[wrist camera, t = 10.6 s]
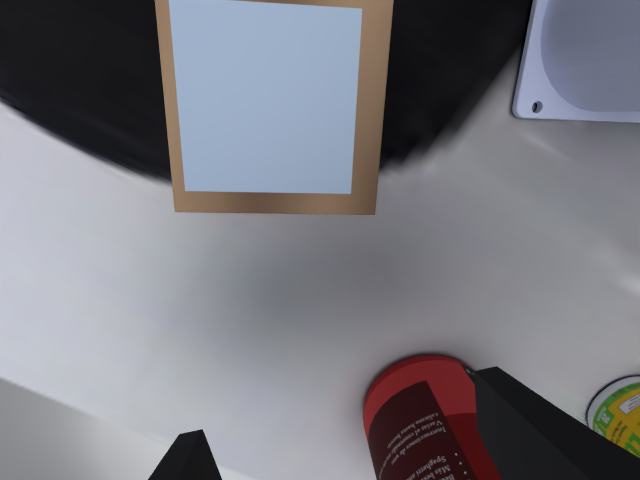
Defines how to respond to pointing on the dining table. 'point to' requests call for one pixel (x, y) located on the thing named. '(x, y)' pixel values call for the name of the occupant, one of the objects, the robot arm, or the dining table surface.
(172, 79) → the plinth
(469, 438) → the canned food
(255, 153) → the block
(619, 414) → the supplement bottle
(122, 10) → the dining table surface
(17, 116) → the dining table surface
